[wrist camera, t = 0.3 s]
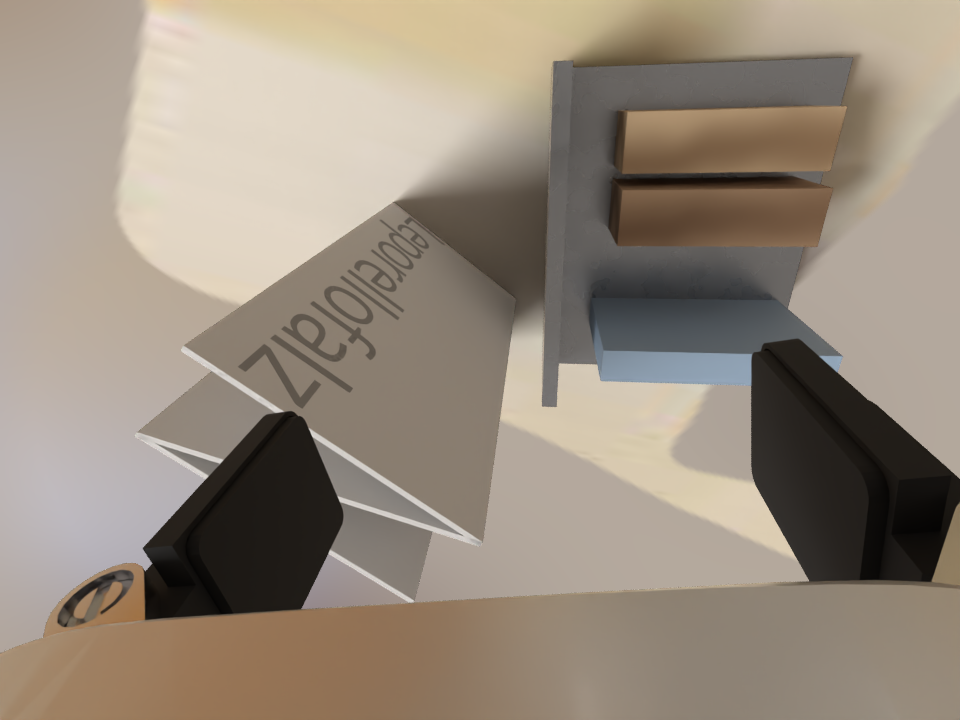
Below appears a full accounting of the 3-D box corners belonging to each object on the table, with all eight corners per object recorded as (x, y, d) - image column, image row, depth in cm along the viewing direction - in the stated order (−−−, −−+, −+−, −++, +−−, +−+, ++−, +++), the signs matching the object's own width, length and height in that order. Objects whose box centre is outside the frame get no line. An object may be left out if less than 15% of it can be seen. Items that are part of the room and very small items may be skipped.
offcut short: (618, 110, 40) (627, 111, 35) (812, 105, 38) (847, 106, 34) (613, 165, 41) (622, 173, 37) (798, 162, 40) (830, 171, 35)
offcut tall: (612, 178, 42) (622, 190, 36) (794, 176, 40) (833, 188, 35) (608, 228, 44) (617, 246, 38) (782, 227, 42) (817, 246, 37)
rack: (551, 68, 40) (553, 61, 32) (845, 58, 37) (928, 47, 29) (542, 358, 51) (542, 406, 43) (767, 364, 49) (811, 416, 41)
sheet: (591, 297, 46) (603, 350, 37) (777, 300, 45) (842, 356, 35) (589, 323, 48) (600, 380, 38) (771, 326, 46) (832, 388, 36)
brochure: (516, 299, 48) (484, 543, 22) (481, 339, 51) (412, 604, 24) (393, 201, 46) (183, 345, 19) (361, 249, 48) (134, 436, 21)
